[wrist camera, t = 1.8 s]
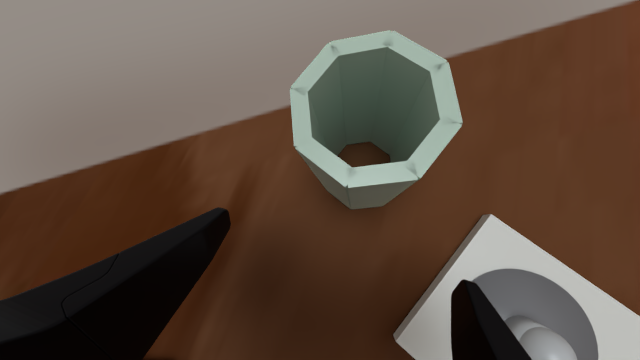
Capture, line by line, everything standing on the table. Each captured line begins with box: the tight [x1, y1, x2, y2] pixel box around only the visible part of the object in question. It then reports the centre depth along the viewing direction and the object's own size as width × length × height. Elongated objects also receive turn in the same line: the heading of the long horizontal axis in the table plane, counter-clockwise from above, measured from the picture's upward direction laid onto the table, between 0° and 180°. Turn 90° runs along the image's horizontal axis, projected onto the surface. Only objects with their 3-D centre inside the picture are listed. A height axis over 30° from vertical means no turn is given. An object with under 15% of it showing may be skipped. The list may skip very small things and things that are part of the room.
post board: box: [393, 214, 640, 360], centre depth 16 cm, size 12×12×5 cm
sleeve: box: [290, 30, 463, 210], centre depth 16 cm, size 7×7×12 cm
